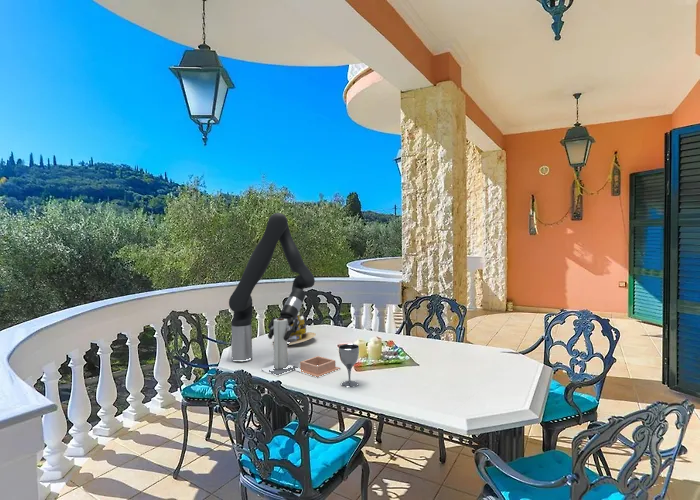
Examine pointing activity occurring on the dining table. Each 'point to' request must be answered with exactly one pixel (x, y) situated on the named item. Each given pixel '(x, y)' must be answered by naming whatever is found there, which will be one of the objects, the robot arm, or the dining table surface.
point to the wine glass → (349, 360)
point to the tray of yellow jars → (300, 332)
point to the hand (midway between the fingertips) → (277, 339)
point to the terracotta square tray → (322, 368)
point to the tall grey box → (280, 344)
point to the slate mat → (282, 370)
